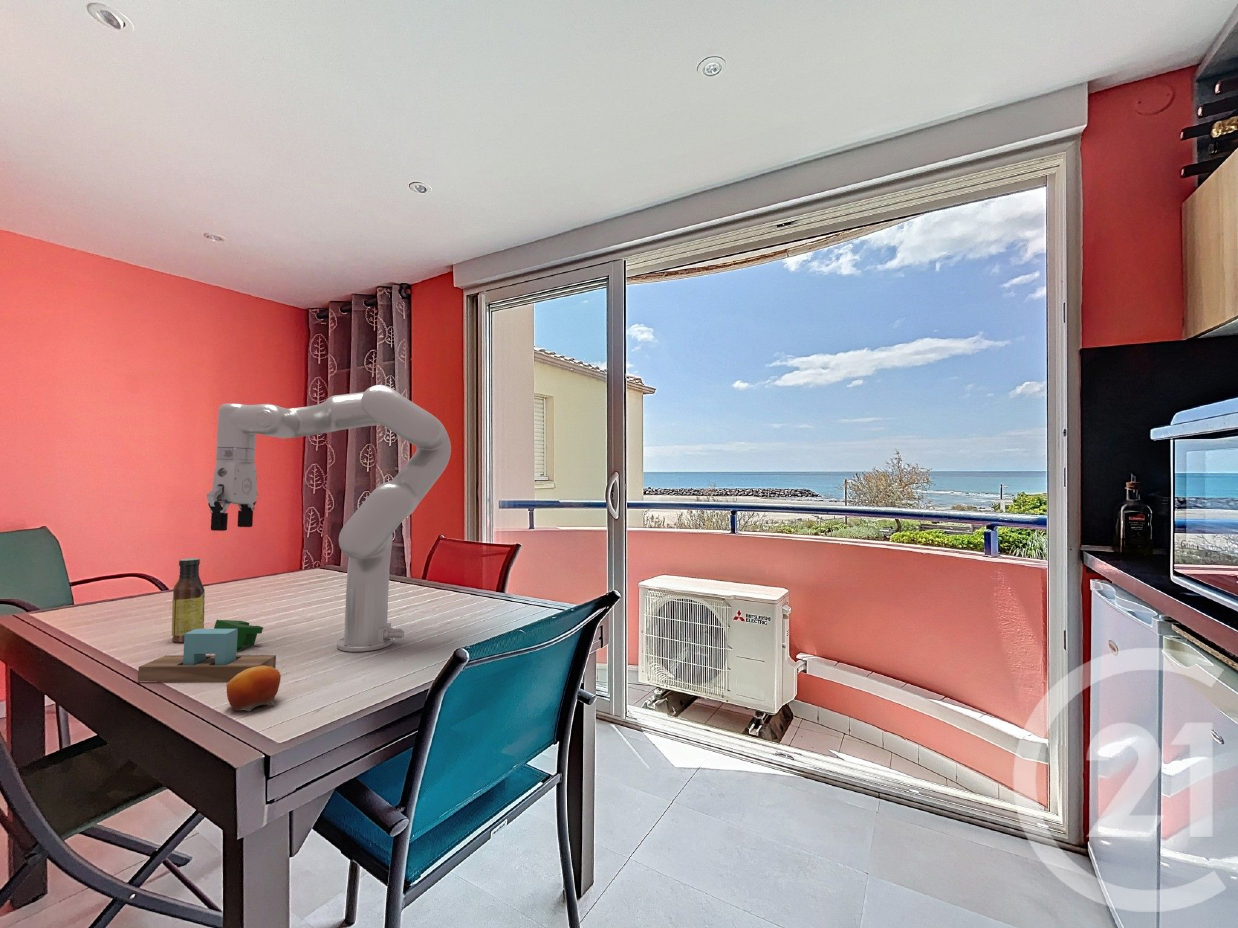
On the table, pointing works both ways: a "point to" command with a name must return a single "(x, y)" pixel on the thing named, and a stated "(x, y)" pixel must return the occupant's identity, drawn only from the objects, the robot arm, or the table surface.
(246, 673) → the fruit
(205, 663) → the slotted wooden board
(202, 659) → the clip
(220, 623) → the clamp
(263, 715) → the table surface
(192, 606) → the sauce bottle
